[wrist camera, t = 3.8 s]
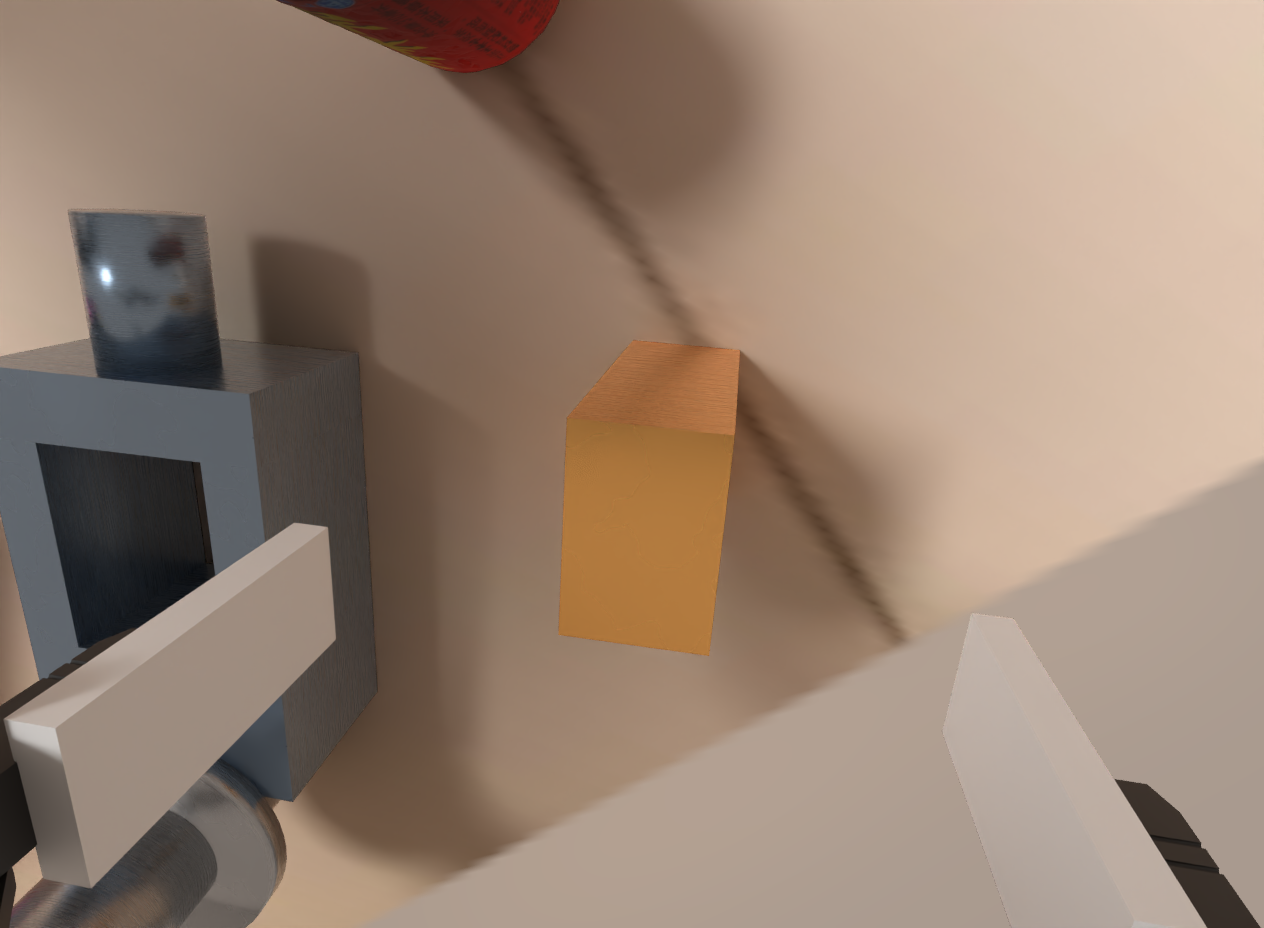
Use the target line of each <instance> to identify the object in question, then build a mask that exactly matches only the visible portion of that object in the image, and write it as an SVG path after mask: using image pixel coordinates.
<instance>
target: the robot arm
mask: <svg viewBox="0 0 1264 928" xmlns="http://www.w3.org/2000/svg"><path fill="white" fill-rule="evenodd" d="M335 640H336V633H335V619H334V605H333V592H332V578H331V564H330V550H329V536H328V527H323V526H316V525H308V524H301V523H293V524H292V525H290V526H289V527H287V528H286V529H284V530H283V531H281V532H280V533H278V534H277V535H275V536H274V537H272V538H271V539H269V540H268V541H266V542H265V543H263V544H262V545H260V546H259V547H258V548H256V549H255V550H253V551H252V552H250V553H249V554H247V555H246V556H244V557H243V558H241V559H240V560H238V561H237V562H235V563H234V564H232V565H231V566H229V567H228V568H226V569H225V570H223V571H222V572H220V573H219V574H218V575H216V576H215V577H213V578H212V579H210V580H209V581H207V582H206V583H204V584H203V585H201V586H200V587H198V588H197V589H195V590H194V591H192V592H191V593H189V594H188V595H186V596H185V597H183V598H182V599H180V600H179V601H178V602H176V603H175V604H173V605H172V606H170V607H169V608H167V609H166V610H164V611H163V612H161V613H160V614H158V615H157V616H155V617H154V618H152V619H151V620H149V621H148V622H146V623H145V624H143V625H142V626H141V627H139V628H131V629H128V630H126V631H123V632H121V633H119V634H116V635H114V636H111V637H109V638H106V639H104V640H101V641H99V642H97V643H96V644H94V645H93V646H91V647H90V648H88V649H87V650H85V651H84V652H82V653H81V654H79V655H77V656H76V657H74V658H73V659H71V663H70V664H69V663H65V664H64V665H62V666H61V667H59V668H58V669H56V670H55V671H53V672H52V673H50V674H49V677H48V678H47V679H46V678H42V679H41V680H39V681H38V682H36V683H35V684H33V685H32V686H30V687H29V688H27V689H26V690H24V691H23V692H21V693H19V694H18V695H16V696H15V697H13V698H12V699H10V700H9V701H7V702H6V703H4V704H3V705H1V706H0V928H9V926H10V920H11V914H12V909H13V903H14V897H15V891H16V882H15V876H14V872H13V869H12V866H14V865H15V864H16V863H17V862H18V861H19V860H20V859H21V858H23V857H24V856H25V855H26V854H27V853H28V852H29V851H31V850H32V849H33V848H34V847H36V851H37V855H38V859H39V863H40V867H41V871H42V875H43V879H47V880H52V881H57V882H62V883H67V884H72V885H76V886H81V887H86V888H92V887H93V886H94V885H95V884H96V883H97V882H98V881H99V880H100V879H101V878H102V877H103V876H104V875H105V874H106V873H107V872H108V871H109V870H110V869H111V868H112V867H113V866H114V865H115V864H116V863H117V862H118V861H119V860H120V859H121V858H122V857H123V856H124V855H125V854H126V853H127V852H128V851H129V850H130V849H131V847H132V846H133V845H134V844H135V843H136V842H137V841H138V840H139V839H140V838H141V837H142V836H143V835H144V834H145V833H146V832H147V831H148V830H149V829H150V828H151V827H152V826H153V825H154V824H155V823H156V822H157V821H158V820H159V819H160V818H161V817H162V816H163V815H164V814H165V813H166V812H167V811H168V810H169V809H170V808H171V807H172V806H173V805H174V804H175V803H176V802H177V801H178V800H179V799H180V798H181V797H182V796H183V795H184V794H185V793H186V791H187V790H188V789H189V788H190V787H191V786H192V785H193V784H194V783H195V782H196V781H197V780H198V779H199V778H200V777H201V776H202V775H203V774H204V773H205V772H206V771H207V770H208V769H209V768H210V767H211V766H212V765H213V764H214V763H215V762H216V761H217V760H218V759H219V758H220V757H221V756H222V755H223V754H224V753H225V752H226V751H227V750H228V749H229V748H230V747H231V746H232V745H233V744H234V743H235V742H236V741H237V740H238V739H239V738H240V737H241V735H242V734H243V733H244V732H245V731H246V730H247V729H248V728H249V727H250V726H251V725H252V724H253V723H254V722H255V721H256V720H257V719H258V718H259V717H260V716H261V715H262V714H263V713H264V712H265V711H266V710H267V709H268V708H269V707H270V706H271V705H272V704H273V703H274V702H275V701H276V700H277V699H278V698H279V697H280V696H281V695H282V694H283V693H284V692H285V691H286V690H287V689H288V688H289V687H290V686H291V685H292V684H293V683H294V682H295V681H296V679H297V678H298V677H299V676H300V675H301V674H302V673H303V672H304V671H305V670H306V669H307V668H308V667H309V666H310V665H311V664H312V663H313V662H314V661H315V660H316V659H317V658H318V657H319V656H320V655H321V654H322V653H323V652H324V651H325V650H326V649H327V648H328V647H329V646H330V645H331V644H332V643H333V642H334V641H335ZM942 733H943V736H944V739H945V742H946V745H947V747H948V750H949V753H950V756H951V759H952V762H953V764H954V767H955V770H956V773H957V775H958V778H959V781H960V784H961V787H962V790H963V793H964V796H965V798H966V801H967V804H968V807H969V810H970V813H971V815H972V818H973V821H974V824H975V827H976V830H977V832H978V835H979V838H980V841H981V844H982V847H983V849H984V852H985V855H986V858H987V861H988V863H989V866H990V869H991V872H992V875H993V878H994V881H995V884H996V886H997V889H998V892H999V895H1000V898H1001V900H1002V903H1003V906H1004V909H1005V912H1006V915H1007V918H1008V920H1009V923H1010V926H1011V928H1260V926H1259V925H1258V923H1257V922H1256V920H1255V919H1254V918H1253V916H1252V915H1251V913H1250V912H1249V910H1248V909H1247V908H1246V906H1245V905H1244V903H1243V902H1242V900H1241V899H1240V898H1239V896H1238V895H1237V893H1236V892H1235V890H1234V889H1233V888H1232V886H1231V885H1230V883H1229V882H1228V880H1227V879H1226V878H1225V876H1224V875H1222V874H1219V868H1218V866H1217V865H1216V863H1215V862H1214V860H1213V859H1212V858H1211V856H1210V855H1209V853H1208V852H1207V850H1206V849H1202V848H1201V842H1200V841H1199V839H1198V838H1197V836H1196V835H1195V833H1194V832H1193V830H1192V829H1191V828H1190V826H1189V825H1188V823H1187V822H1186V820H1185V819H1184V818H1183V816H1182V815H1181V814H1180V812H1179V811H1178V810H1176V809H1175V808H1174V807H1173V806H1172V805H1170V804H1169V803H1168V802H1167V801H1166V800H1164V798H1162V797H1161V796H1160V795H1159V794H1158V793H1156V792H1155V791H1154V790H1153V789H1152V788H1151V787H1149V786H1148V785H1147V784H1141V783H1134V782H1129V781H1123V780H1116V779H1114V778H1113V777H1112V775H1111V774H1110V772H1109V770H1108V769H1107V767H1106V766H1105V764H1104V762H1103V761H1102V759H1101V757H1100V756H1099V754H1098V753H1097V751H1096V750H1095V748H1094V746H1093V745H1092V743H1091V741H1090V740H1089V738H1088V737H1087V735H1086V734H1085V732H1084V730H1083V729H1082V727H1081V726H1080V724H1079V723H1078V721H1077V719H1076V718H1075V716H1074V714H1073V713H1072V711H1071V710H1070V708H1069V706H1068V705H1067V703H1066V702H1065V700H1064V698H1063V697H1062V695H1061V694H1060V692H1059V690H1058V689H1057V687H1056V686H1055V684H1054V682H1053V681H1052V679H1051V678H1050V676H1049V674H1048V673H1047V671H1046V670H1045V668H1044V666H1043V665H1042V663H1041V662H1040V660H1039V658H1038V657H1037V655H1036V654H1035V652H1034V650H1033V649H1032V647H1031V646H1030V644H1029V642H1028V641H1027V639H1026V638H1025V636H1024V634H1023V633H1022V631H1021V630H1020V628H1019V626H1018V625H1017V623H1016V622H1015V620H1014V619H1013V618H1006V617H998V616H991V615H983V614H976V613H971V616H970V620H969V625H968V629H967V633H966V637H965V641H964V645H963V649H962V653H961V658H960V661H959V665H958V670H957V674H956V678H955V682H954V686H953V690H952V694H951V698H950V702H949V706H948V710H947V714H946V719H945V723H944V727H943V731H942Z"/></svg>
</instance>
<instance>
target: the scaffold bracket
mask: <svg viewBox="0 0 1264 928" xmlns="http://www.w3.org/2000/svg"><path fill="white" fill-rule="evenodd" d="M68 215H69V221H70V227H71V232H72V238H73V244H74V249H75V255H76V261H77V267H78V272H79V278H80V284H81V289H82V295H83V301H84V306H85V312H86V318H87V323H88V329H89V335H90V338H88V339H84V340H79V341H74V342H69V343H64V344H59V345H54V346H49V347H44V348H39V349H35V350H30V351H25V352H20V353H15V354H10V355H5V356H0V513H1V518H2V522H3V526H4V530H5V535H6V539H7V543H8V547H9V552H10V556H11V560H12V565H13V569H14V573H15V577H16V582H17V586H18V590H19V594H20V599H21V603H22V607H23V611H24V616H25V620H26V624H27V629H28V633H29V637H30V641H31V646H32V650H33V654H34V658H35V663H36V667H37V671H38V675H39V680H41V679H42V678H46V679H47V678H48V677H49V674H50V673H52V672H53V671H55V670H56V669H58V668H59V667H61V666H62V665H64V664H65V663H69V664H70V663H71V659H73V658H74V657H76V656H77V655H79V654H81V653H82V652H84V651H85V650H87V649H88V648H90V647H91V646H93V645H94V644H96V643H97V642H99V641H101V640H104V639H106V638H109V637H111V636H114V635H116V634H119V633H121V632H123V631H126V630H128V629H131V628H139V627H141V626H142V625H143V624H145V623H146V622H148V621H149V620H151V619H152V618H154V617H155V616H157V615H158V614H160V613H161V612H163V611H164V610H166V609H167V608H169V607H170V606H172V605H173V604H175V603H176V602H178V601H179V600H180V599H182V598H183V597H185V596H186V595H188V594H189V593H191V592H192V591H194V590H195V589H197V588H198V587H200V586H201V585H203V584H204V583H206V582H207V581H209V580H210V579H212V578H213V577H215V576H216V575H218V574H219V573H220V572H222V571H223V570H225V569H226V568H228V567H229V566H231V565H232V564H234V563H235V562H237V561H238V560H240V559H241V558H243V557H244V556H246V555H247V554H249V553H250V552H252V551H253V550H255V549H256V548H258V547H259V546H260V545H262V544H263V543H265V542H266V541H268V540H269V539H271V538H272V537H274V536H275V535H277V534H278V533H280V532H281V531H283V530H284V529H286V528H287V527H289V526H290V525H292V524H293V523H301V524H308V525H316V526H323V527H328V536H329V550H330V564H331V578H332V592H333V605H334V619H335V633H336V640H335V641H334V642H333V643H332V644H331V645H330V646H329V647H328V648H327V649H326V650H325V651H324V652H323V653H322V654H321V655H320V656H319V657H318V658H317V659H316V660H315V661H314V662H313V663H312V664H311V665H310V666H309V667H308V668H307V669H306V670H305V671H304V672H303V673H302V674H301V675H300V676H299V677H298V678H297V679H296V681H295V682H294V683H293V684H292V685H291V686H290V687H289V688H288V689H287V690H286V691H285V692H284V693H283V694H282V695H281V696H280V697H279V698H278V699H277V700H276V701H275V702H274V703H273V704H272V705H271V706H270V707H269V708H268V709H267V710H266V711H265V712H264V713H263V714H262V715H261V716H260V717H259V718H258V719H257V720H256V721H255V722H254V723H253V724H252V725H251V726H250V727H249V728H248V729H247V730H246V731H245V732H244V733H243V734H242V735H241V737H240V738H239V739H238V740H237V741H236V742H235V743H234V744H233V745H232V746H231V747H230V748H229V749H228V750H227V751H226V752H225V753H224V754H223V755H222V756H221V757H220V758H219V759H218V760H217V761H216V762H215V763H214V764H213V765H212V766H211V767H210V768H209V769H208V770H207V771H206V772H205V773H204V774H203V775H202V776H201V777H200V778H199V779H198V780H197V781H196V782H195V783H194V784H193V785H192V786H191V787H190V788H189V789H188V790H187V791H186V793H185V794H184V795H183V796H182V797H181V798H180V799H179V800H178V801H177V802H176V803H175V804H174V805H173V806H172V807H171V808H170V809H169V810H168V811H167V812H166V813H165V814H164V815H163V816H162V817H161V818H160V819H159V820H158V821H157V822H156V823H155V824H154V825H153V826H152V827H151V828H150V829H149V830H148V831H147V832H146V833H145V834H144V835H143V836H142V837H141V838H140V839H139V840H138V841H137V842H136V843H135V844H134V845H133V846H132V847H131V849H130V850H129V851H128V852H127V853H126V854H125V855H124V856H123V857H122V858H121V859H120V860H119V861H118V862H117V863H116V864H115V865H114V866H113V867H112V868H111V869H110V870H109V871H108V872H107V873H106V874H105V875H104V876H103V877H102V878H101V879H100V880H99V881H98V882H97V883H96V884H95V885H94V886H93V887H92V888H86V887H81V886H76V885H72V884H67V883H62V882H57V881H52V880H47V879H43V878H42V879H41V880H40V881H39V882H38V883H37V884H36V885H35V886H34V887H33V888H32V889H31V890H30V891H28V892H27V893H26V894H25V895H24V896H23V897H22V898H21V899H20V900H19V901H18V902H17V903H16V904H15V905H14V906H13V909H12V914H11V920H10V926H9V928H245V927H247V926H248V925H249V924H250V923H252V922H253V921H254V920H255V918H256V917H257V916H258V915H259V914H260V912H261V911H262V909H263V908H264V906H265V905H266V903H267V902H268V900H269V899H270V898H271V896H272V895H273V893H274V892H275V890H276V889H277V887H278V886H279V884H280V882H281V880H282V878H283V875H284V872H285V867H286V860H287V855H286V844H285V839H284V835H283V832H282V829H281V826H280V823H279V821H278V819H277V817H276V815H275V813H274V811H273V809H274V808H275V806H276V805H277V804H278V802H279V801H280V800H286V801H291V802H293V801H294V800H295V798H296V797H297V796H298V794H299V793H300V792H301V791H302V789H303V788H304V787H305V785H306V784H307V783H308V781H309V780H310V779H311V777H312V776H313V775H314V774H315V772H316V771H317V770H318V768H319V767H320V766H321V764H322V763H323V762H324V760H325V759H326V758H327V756H328V755H329V754H330V753H331V751H332V750H333V749H334V747H335V746H336V745H337V743H338V742H339V741H340V739H341V738H342V737H343V736H344V734H345V733H346V732H347V730H348V729H349V728H350V726H351V725H352V724H353V722H354V721H355V720H356V719H357V717H358V716H359V715H360V713H361V712H362V711H363V709H364V708H365V707H366V705H367V704H368V703H369V701H370V700H371V699H372V698H373V696H374V695H375V694H376V692H377V677H376V659H375V642H374V624H373V606H372V589H371V571H370V553H369V535H368V518H367V500H366V482H365V465H364V447H363V429H362V412H361V394H360V376H359V359H358V353H357V352H347V351H337V350H327V349H317V348H307V347H296V346H286V345H276V344H266V343H256V342H246V341H236V340H226V339H220V337H219V328H218V320H217V311H216V303H215V294H214V286H213V277H212V269H211V260H210V252H209V243H208V235H207V227H206V218H205V215H200V214H192V213H181V212H167V211H150V210H125V209H71V210H68ZM192 462H200V465H201V473H202V480H203V488H204V495H205V502H206V510H207V517H208V525H209V532H210V540H211V547H212V555H213V562H214V564H208V563H206V561H205V553H204V546H203V539H202V532H201V524H200V517H199V510H198V503H197V495H196V488H195V481H194V474H193V466H192Z"/></svg>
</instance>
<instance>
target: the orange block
mask: <svg viewBox="0 0 1264 928" xmlns="http://www.w3.org/2000/svg"><path fill="white" fill-rule="evenodd" d="M739 359H740V350H733V349H722V348H712V347H701V346H690V345H679V344H668V343H658V342H647V341H636V340H633V341H632V342H631V343H630V345H629V346H628V347H627V348H626V349H625V350H624V352H623V353H622V354H621V355H620V356H619V357H618V359H617V360H616V361H615V362H614V363H613V364H612V366H611V367H610V368H609V369H608V370H607V371H606V373H605V374H604V375H603V376H602V377H601V378H600V380H599V381H598V382H597V383H596V384H595V386H594V387H593V388H592V389H591V390H590V391H589V393H588V394H587V395H586V396H585V397H584V398H583V400H582V401H581V402H580V403H579V404H578V405H577V407H576V408H575V409H574V410H573V411H572V412H571V414H570V415H569V416H568V417H567V429H566V455H565V481H564V507H563V533H562V559H561V584H560V610H559V635H564V636H571V637H578V638H585V639H592V640H599V641H606V642H614V643H621V644H628V645H635V646H642V647H649V648H656V649H664V650H671V651H678V652H685V653H692V654H699V655H707V656H709V651H710V643H711V634H712V626H713V617H714V609H715V600H716V592H717V583H718V575H719V566H720V558H721V549H722V541H723V532H724V523H725V515H726V506H727V498H728V489H729V481H730V472H731V464H732V455H733V447H734V438H735V424H736V408H737V392H738V375H739Z"/></svg>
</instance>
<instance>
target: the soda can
mask: <svg viewBox="0 0 1264 928" xmlns="http://www.w3.org/2000/svg"><path fill="white" fill-rule="evenodd" d="M277 1H279V2H281V3H284V4H287V5H290V6H293V7H295V8H297V9H300V10H302V11H304V12H307V13H309V14H311V15H314V16H316V17H318V18H320V19H323V20H325V21H327V22H329V23H332V24H334V25H337V26H340V27H342V28H344V29H346V30H348V31H351V32H353V33H356V34H358V35H360V36H362V37H365V38H367V39H369V40H372V41H374V42H376V43H378V44H381V45H383V46H385V47H387V48H390V49H392V50H394V51H397V52H399V53H401V54H404V55H406V56H409V57H411V58H413V59H415V60H417V61H420V62H422V63H425V64H427V65H429V66H432V67H435V68H439V69H443V70H446V71H453V72H461V73H470V72H477V71H481V70H484V69H488V68H491V67H494V66H498V65H501V64H504V63H506V62H507V61H509V60H511V59H512V58H514V57H516V56H517V55H519V54H521V53H522V52H523V51H524V50H525V49H526V48H527V47H528V46H529V45H530V44H531V43H532V42H533V41H534V40H535V39H536V38H537V37H538V36H539V35H540V34H541V33H542V32H543V31H544V29H545V28H546V26H547V25H548V23H549V21H550V20H551V18H552V16H553V15H554V13H555V11H556V8H557V6H558V3H559V1H560V0H277Z"/></svg>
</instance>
